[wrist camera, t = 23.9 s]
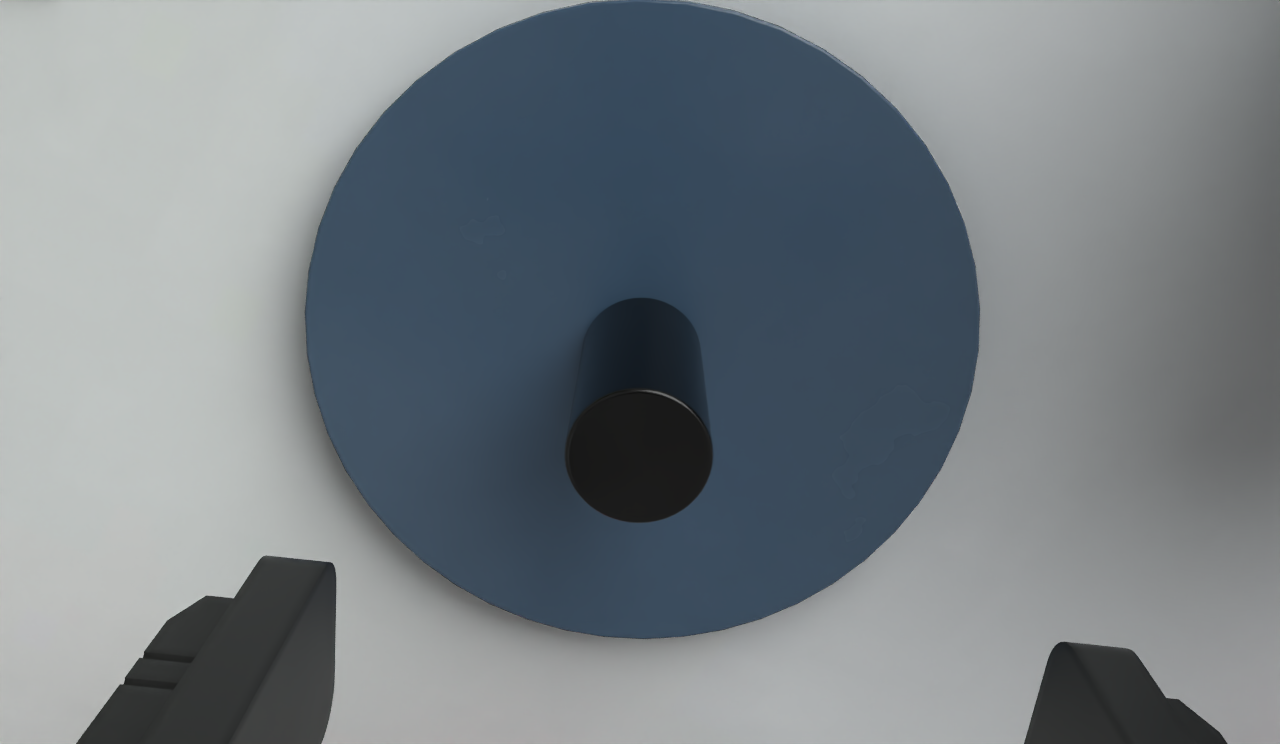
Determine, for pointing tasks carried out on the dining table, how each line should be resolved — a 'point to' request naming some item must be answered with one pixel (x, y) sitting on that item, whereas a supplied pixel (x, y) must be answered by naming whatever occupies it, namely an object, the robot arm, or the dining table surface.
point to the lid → (642, 318)
